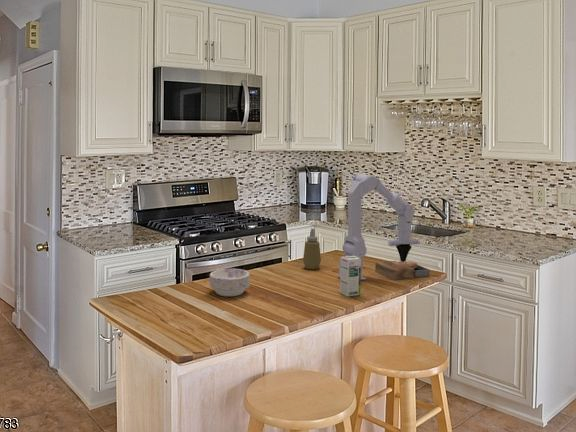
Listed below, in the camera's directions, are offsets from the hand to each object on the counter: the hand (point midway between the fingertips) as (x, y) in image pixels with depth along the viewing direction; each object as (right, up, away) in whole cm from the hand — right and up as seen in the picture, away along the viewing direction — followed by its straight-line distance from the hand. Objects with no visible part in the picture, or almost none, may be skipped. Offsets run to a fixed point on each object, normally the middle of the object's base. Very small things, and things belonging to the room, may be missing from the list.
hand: (402, 261), depth 253 cm
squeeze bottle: (-40, -4, +5) cm, 40 cm away
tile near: (-3, -2, -7) cm, 8 cm away
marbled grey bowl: (-73, -10, -34) cm, 81 cm away
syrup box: (-27, -10, -33) cm, 44 cm away
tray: (+4, -5, -1) cm, 6 cm away
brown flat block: (-5, -6, -4) cm, 8 cm away
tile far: (+3, -2, +2) cm, 4 cm away
